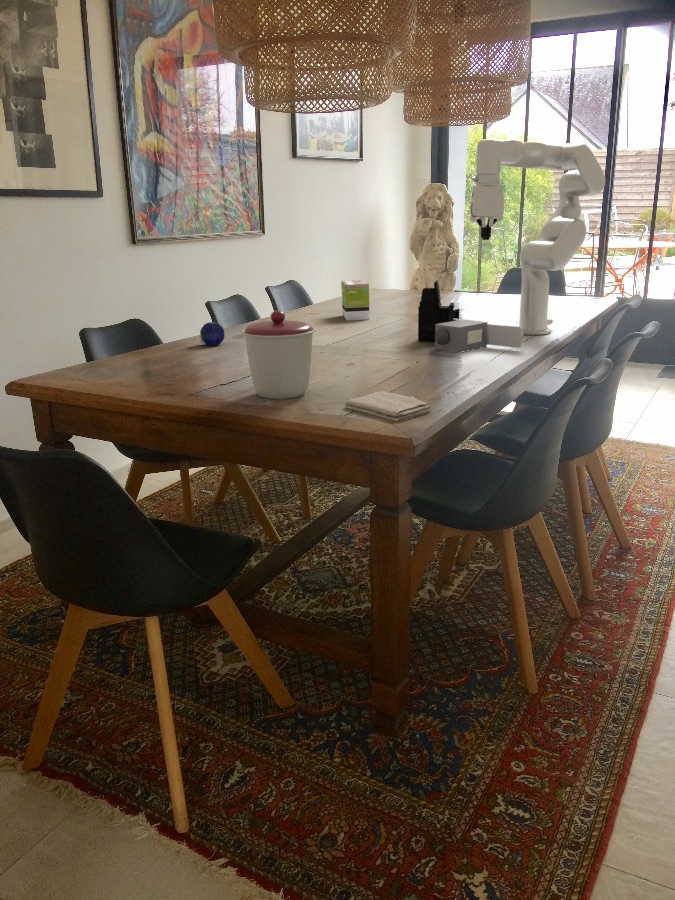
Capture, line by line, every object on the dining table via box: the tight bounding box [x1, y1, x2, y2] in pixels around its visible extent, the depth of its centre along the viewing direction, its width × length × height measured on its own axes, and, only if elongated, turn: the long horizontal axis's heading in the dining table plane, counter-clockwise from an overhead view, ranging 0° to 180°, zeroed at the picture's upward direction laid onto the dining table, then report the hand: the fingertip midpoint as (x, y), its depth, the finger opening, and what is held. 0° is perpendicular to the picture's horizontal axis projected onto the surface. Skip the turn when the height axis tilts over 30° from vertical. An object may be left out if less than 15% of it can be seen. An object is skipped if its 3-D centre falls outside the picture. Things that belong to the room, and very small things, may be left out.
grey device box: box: [434, 318, 489, 353], centre depth 242 cm, size 15×10×8 cm
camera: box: [417, 280, 460, 343], centre depth 254 cm, size 10×14×20 cm
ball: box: [199, 321, 225, 347], centre depth 258 cm, size 8×8×8 cm
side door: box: [486, 323, 524, 349], centre depth 239 cm, size 12×2×6 cm, turn 51°
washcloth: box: [344, 390, 432, 422], centre depth 173 cm, size 12×18×3 cm, turn 43°
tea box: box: [340, 279, 371, 321], centre depth 311 cm, size 15×10×15 cm
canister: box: [241, 310, 316, 400], centre depth 186 cm, size 18×18×21 cm
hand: (485, 239), depth 246 cm, fingers closed
